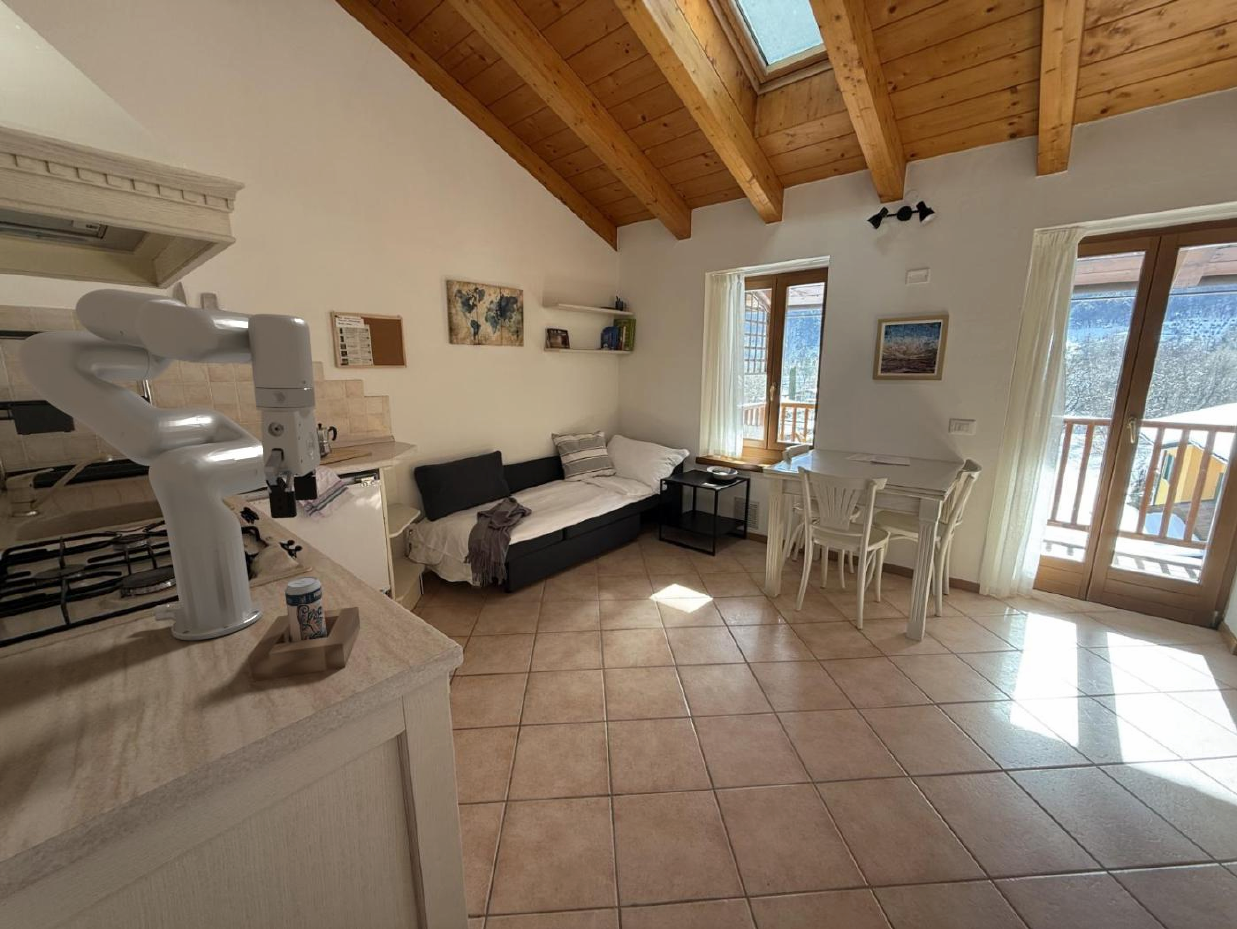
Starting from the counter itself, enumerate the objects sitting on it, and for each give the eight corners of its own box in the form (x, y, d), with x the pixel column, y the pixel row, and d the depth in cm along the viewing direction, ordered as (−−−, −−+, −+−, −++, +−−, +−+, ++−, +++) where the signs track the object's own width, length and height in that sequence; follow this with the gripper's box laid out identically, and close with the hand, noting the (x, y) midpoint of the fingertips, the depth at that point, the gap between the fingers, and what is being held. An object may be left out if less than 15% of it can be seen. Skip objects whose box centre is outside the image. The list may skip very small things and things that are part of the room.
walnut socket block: (252, 681, 71) (248, 656, 70) (280, 638, 82) (278, 616, 81) (345, 667, 74) (342, 643, 74) (360, 628, 86) (358, 606, 85)
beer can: (311, 662, 76) (302, 589, 73) (285, 658, 76) (276, 586, 74) (335, 645, 80) (327, 576, 78) (310, 642, 81) (302, 574, 79)
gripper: (293, 405, 67) (304, 524, 70) (330, 396, 83) (337, 493, 87) (229, 403, 65) (243, 526, 68) (279, 395, 81) (289, 494, 85)
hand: (296, 508), depth 78 cm, fingers open, 9 cm apart
